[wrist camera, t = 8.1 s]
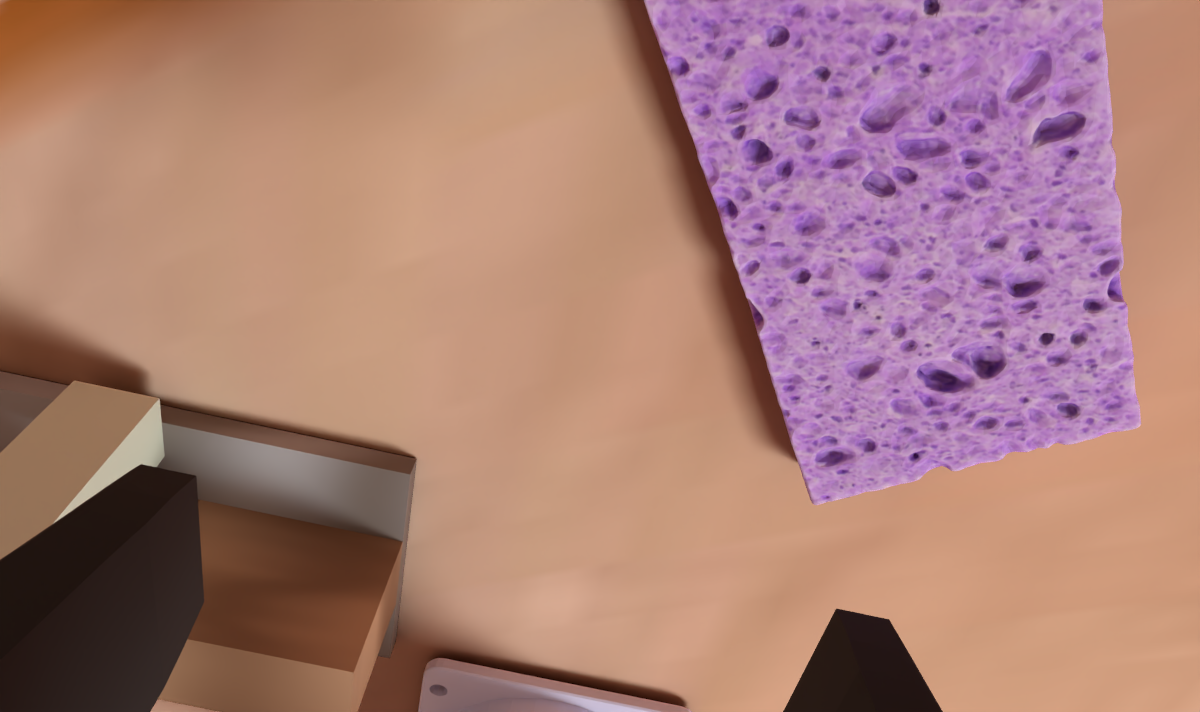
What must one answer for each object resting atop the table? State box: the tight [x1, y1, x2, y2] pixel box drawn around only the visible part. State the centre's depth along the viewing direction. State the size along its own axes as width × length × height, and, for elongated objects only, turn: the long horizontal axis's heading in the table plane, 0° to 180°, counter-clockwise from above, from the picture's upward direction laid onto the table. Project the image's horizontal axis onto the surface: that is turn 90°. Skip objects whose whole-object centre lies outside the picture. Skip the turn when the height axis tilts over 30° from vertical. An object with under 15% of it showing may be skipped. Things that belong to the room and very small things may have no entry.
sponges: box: [644, 0, 1141, 505], centre depth 17 cm, size 7×13×2 cm, turn 21°
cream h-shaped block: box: [0, 380, 165, 559], centre depth 20 cm, size 8×2×7 cm, turn 169°
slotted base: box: [0, 371, 417, 712], centre depth 22 cm, size 14×7×5 cm, turn 79°
